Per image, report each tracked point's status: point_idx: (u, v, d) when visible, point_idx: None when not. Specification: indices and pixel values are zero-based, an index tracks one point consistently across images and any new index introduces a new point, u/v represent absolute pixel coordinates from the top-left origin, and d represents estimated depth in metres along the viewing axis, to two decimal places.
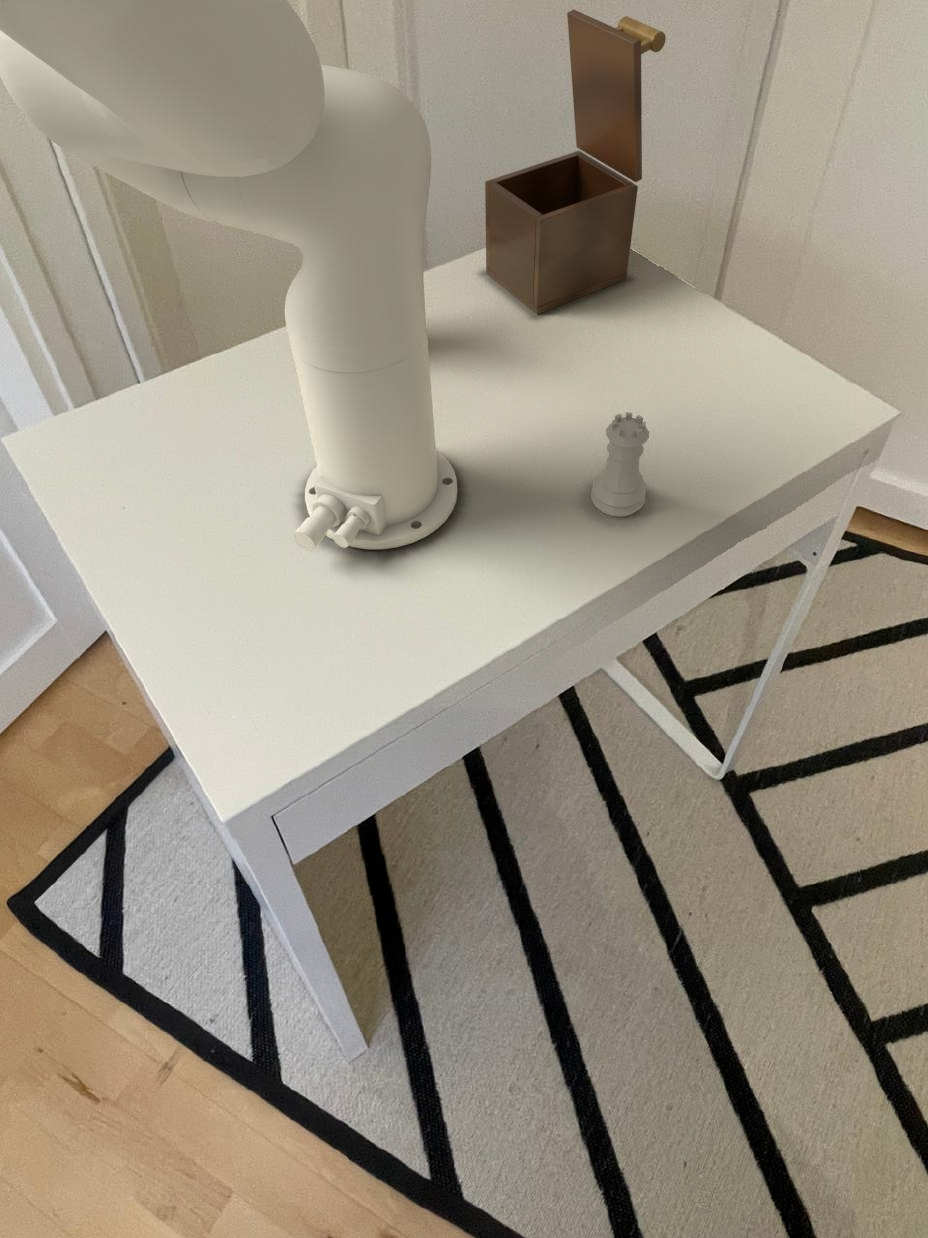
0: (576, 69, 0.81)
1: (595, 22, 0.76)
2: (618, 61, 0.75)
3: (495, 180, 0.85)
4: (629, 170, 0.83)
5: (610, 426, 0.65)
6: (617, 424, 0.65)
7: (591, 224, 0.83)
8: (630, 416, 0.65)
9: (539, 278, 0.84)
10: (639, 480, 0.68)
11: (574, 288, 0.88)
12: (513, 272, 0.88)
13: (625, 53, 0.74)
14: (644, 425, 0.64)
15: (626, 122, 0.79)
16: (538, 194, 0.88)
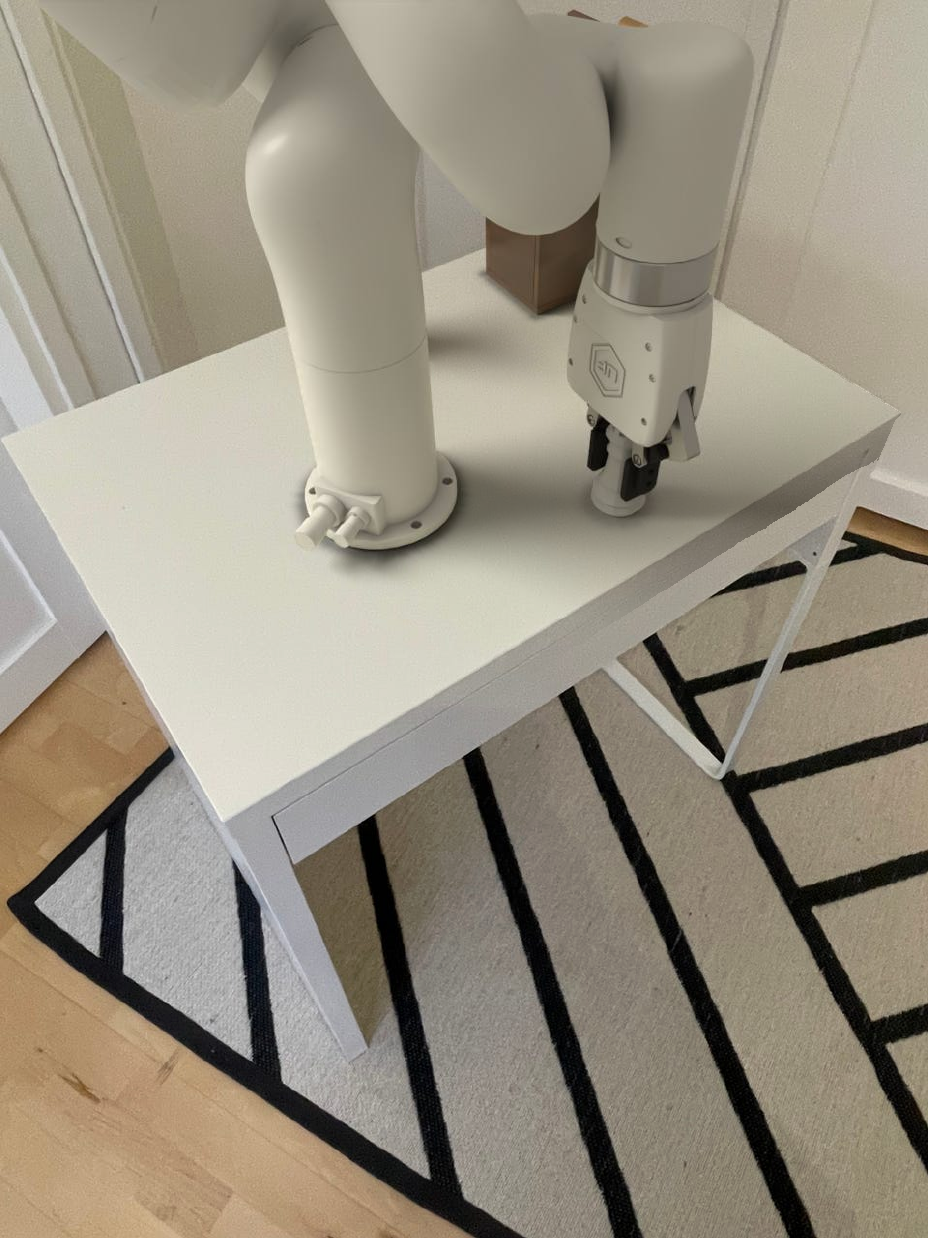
0: None
1: None
2: None
3: None
4: None
5: (610, 426, 0.65)
6: None
7: (591, 224, 0.83)
8: None
9: (539, 278, 0.84)
10: None
11: (574, 288, 0.88)
12: (513, 272, 0.88)
13: None
14: None
15: None
16: None
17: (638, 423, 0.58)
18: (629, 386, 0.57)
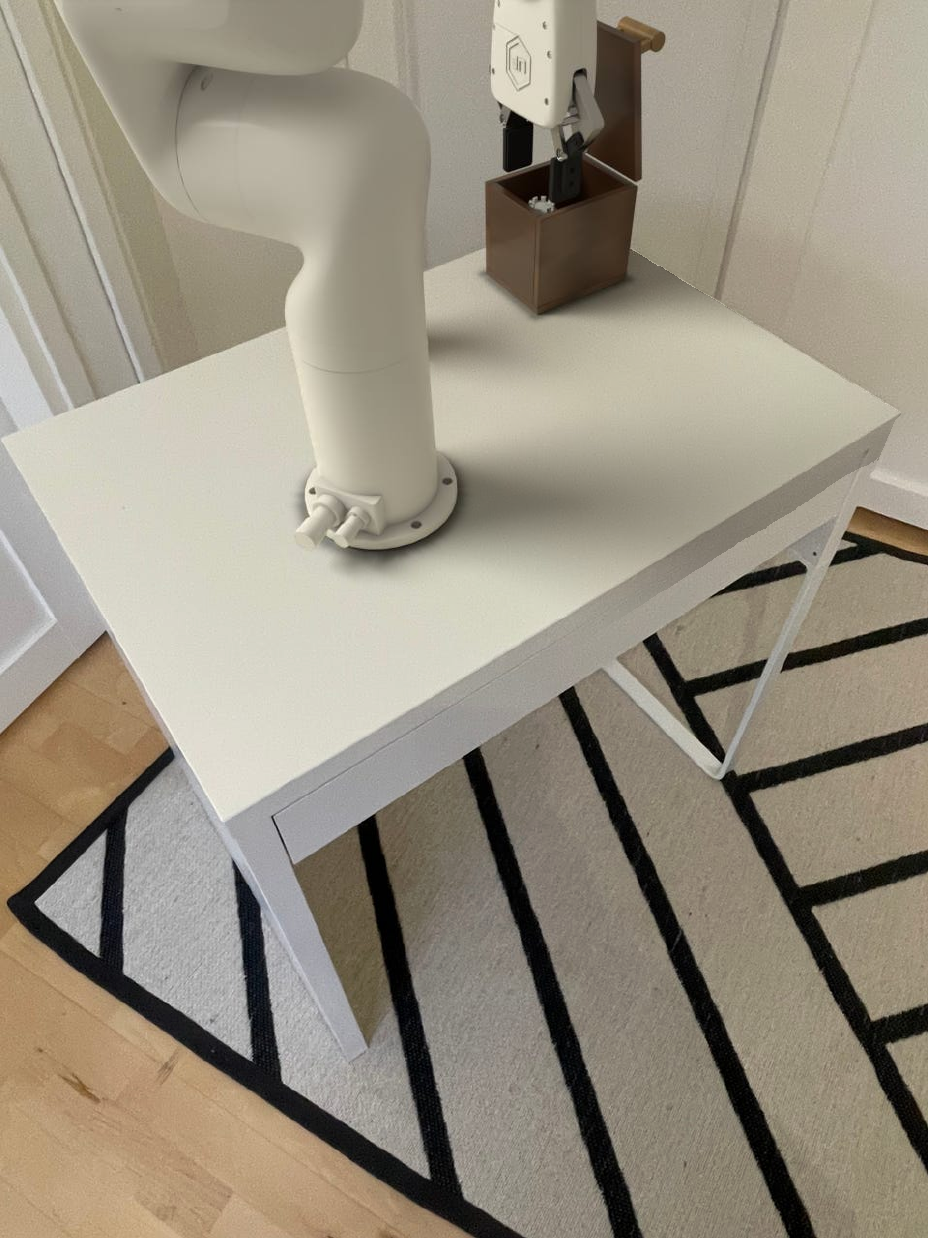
0: None
1: None
2: (618, 61, 0.75)
3: (495, 180, 0.85)
4: (629, 170, 0.83)
5: None
6: (533, 204, 0.84)
7: (591, 224, 0.83)
8: (544, 199, 0.84)
9: (539, 278, 0.84)
10: None
11: (574, 288, 0.88)
12: (513, 272, 0.88)
13: (625, 53, 0.74)
14: (552, 204, 0.83)
15: (626, 122, 0.79)
16: (538, 194, 0.88)
17: (543, 105, 0.73)
18: (534, 71, 0.72)
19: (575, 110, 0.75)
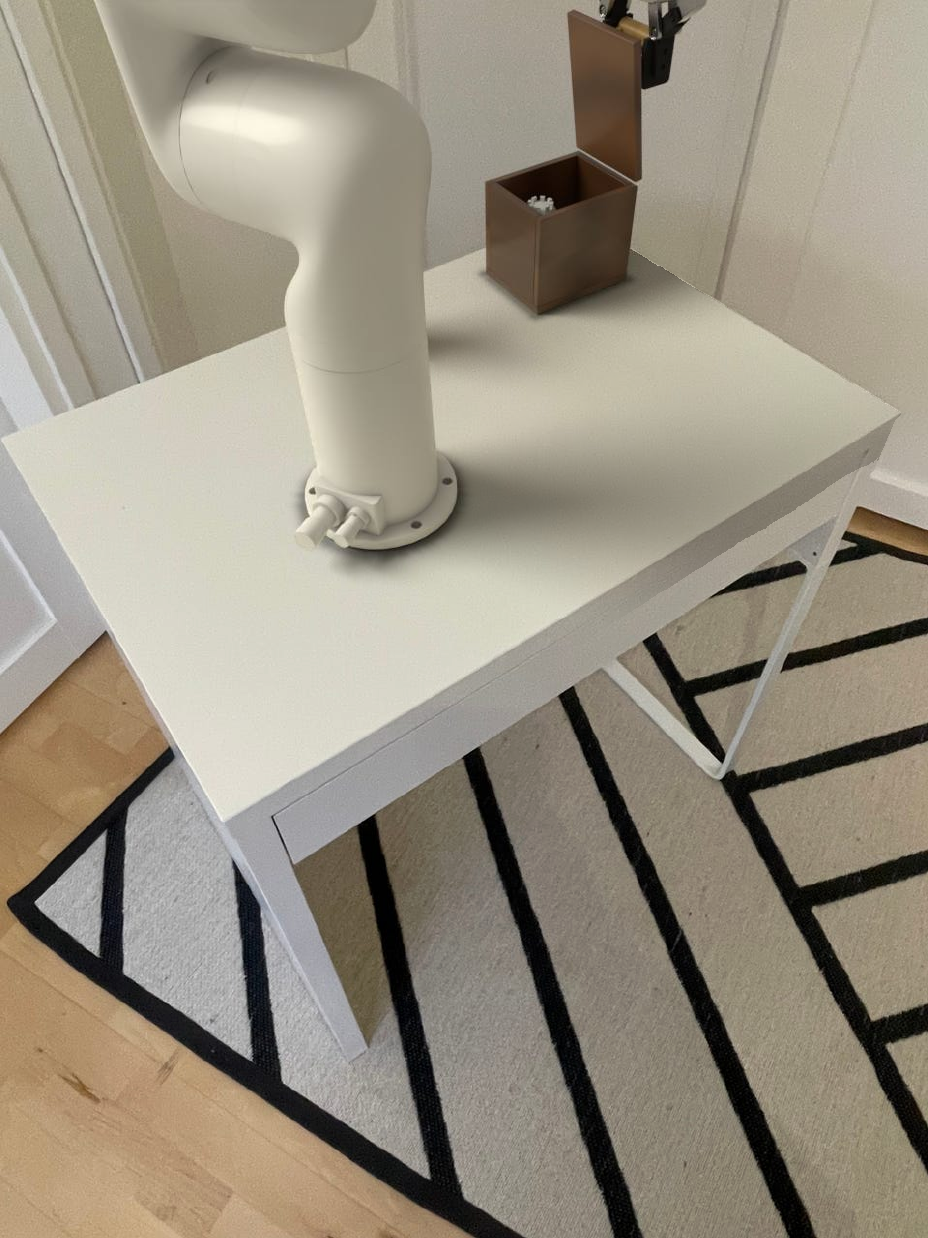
0: (576, 69, 0.81)
1: (595, 22, 0.76)
2: (618, 61, 0.75)
3: (495, 180, 0.85)
4: (629, 170, 0.83)
5: None
6: (532, 203, 0.84)
7: (591, 224, 0.83)
8: (543, 198, 0.85)
9: (539, 278, 0.84)
10: None
11: (574, 288, 0.88)
12: (513, 272, 0.88)
13: (625, 53, 0.74)
14: (551, 203, 0.84)
15: (626, 122, 0.79)
16: (538, 194, 0.88)
17: None
18: None
19: None
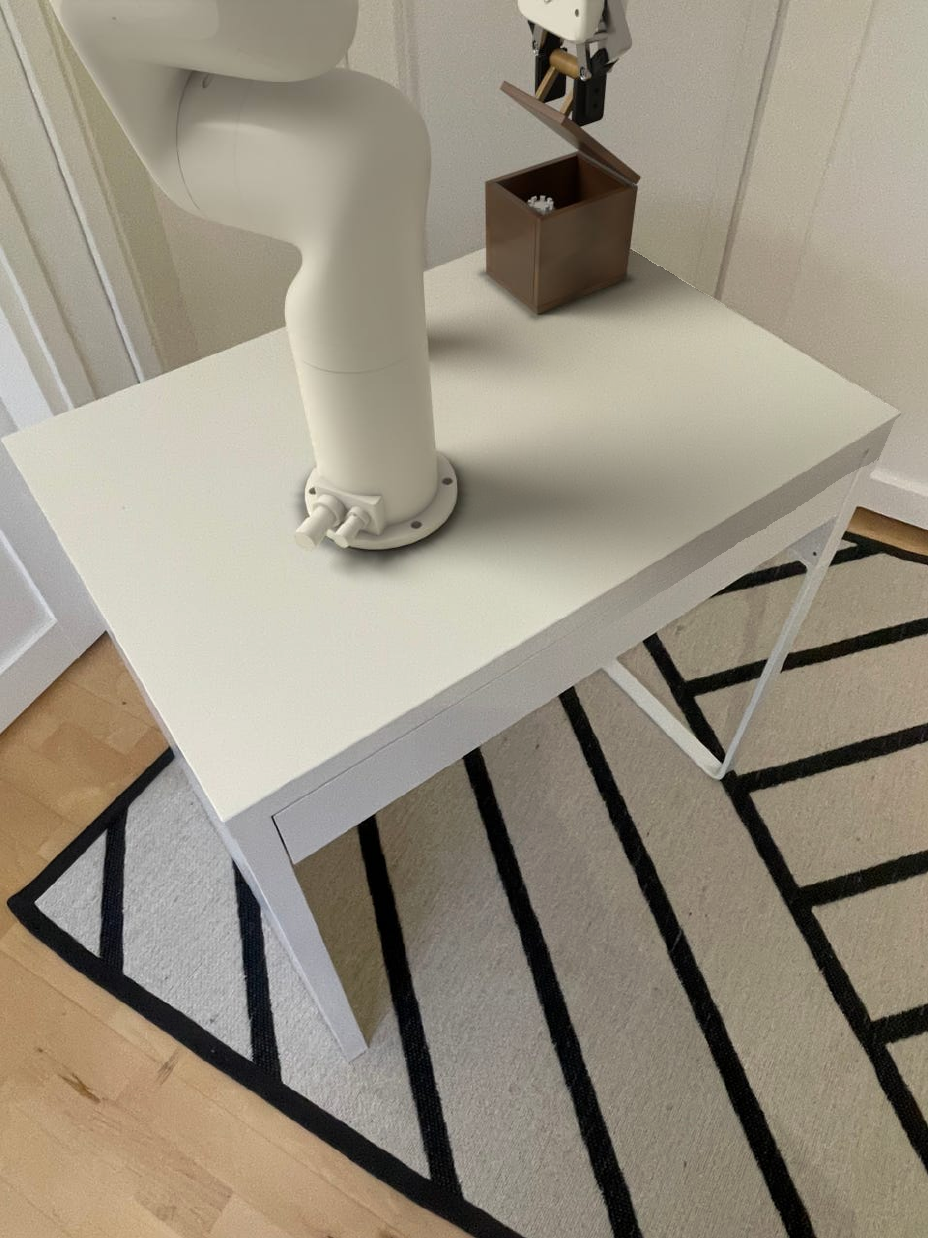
0: (535, 116, 0.82)
1: (525, 98, 0.77)
2: (559, 126, 0.77)
3: (495, 180, 0.85)
4: (625, 177, 0.83)
5: None
6: (532, 203, 0.84)
7: (591, 224, 0.83)
8: (543, 198, 0.85)
9: (539, 278, 0.84)
10: None
11: (574, 288, 0.88)
12: (513, 272, 0.88)
13: (560, 125, 0.75)
14: (551, 203, 0.84)
15: (597, 155, 0.80)
16: (538, 194, 0.88)
17: (573, 17, 0.69)
18: None
19: (603, 25, 0.72)
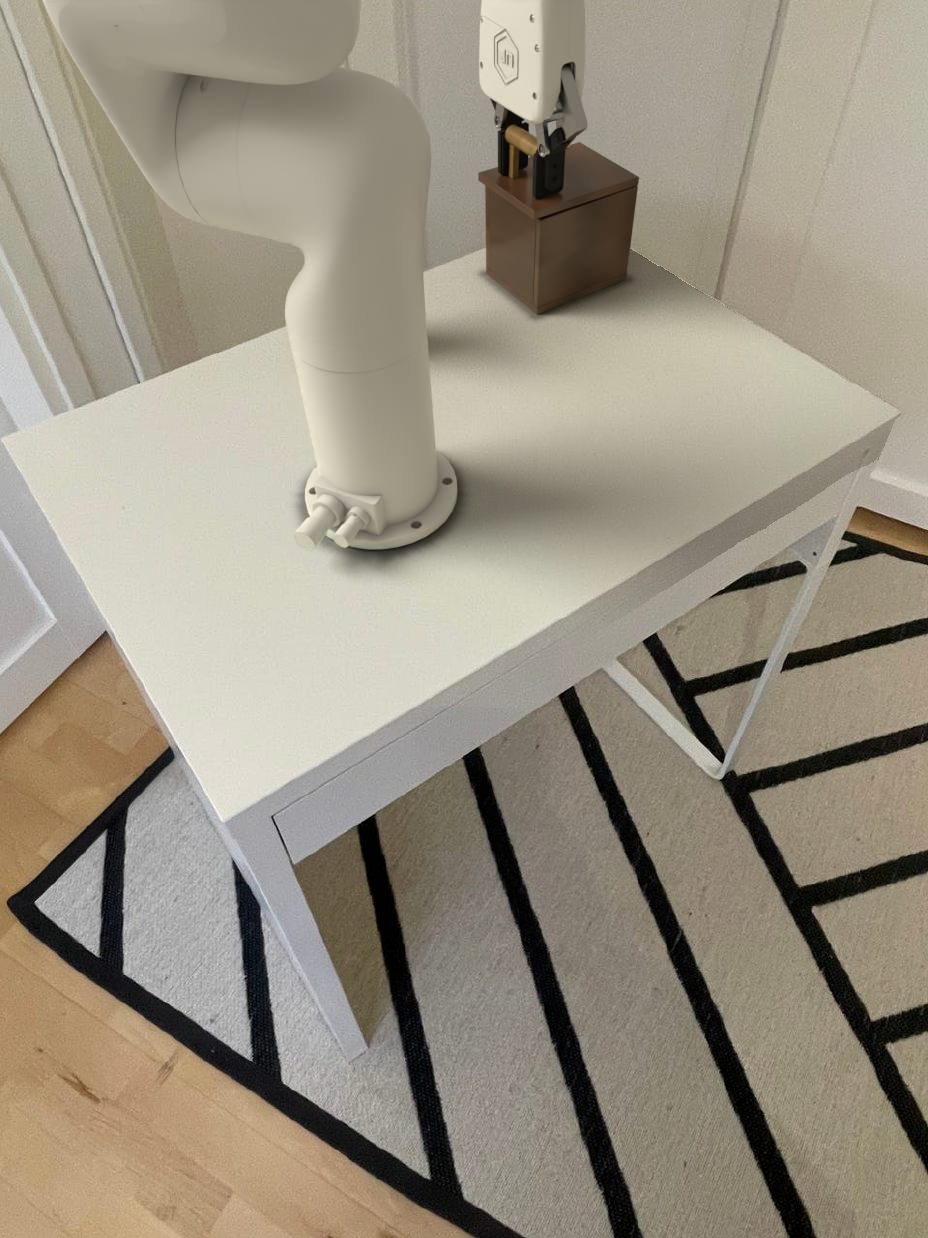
0: None
1: (499, 191, 0.82)
2: None
3: None
4: None
5: None
6: None
7: (591, 224, 0.83)
8: None
9: (539, 278, 0.84)
10: None
11: (574, 288, 0.88)
12: (513, 272, 0.88)
13: None
14: None
15: None
16: None
17: (531, 99, 0.72)
18: (522, 64, 0.71)
19: (561, 105, 0.75)
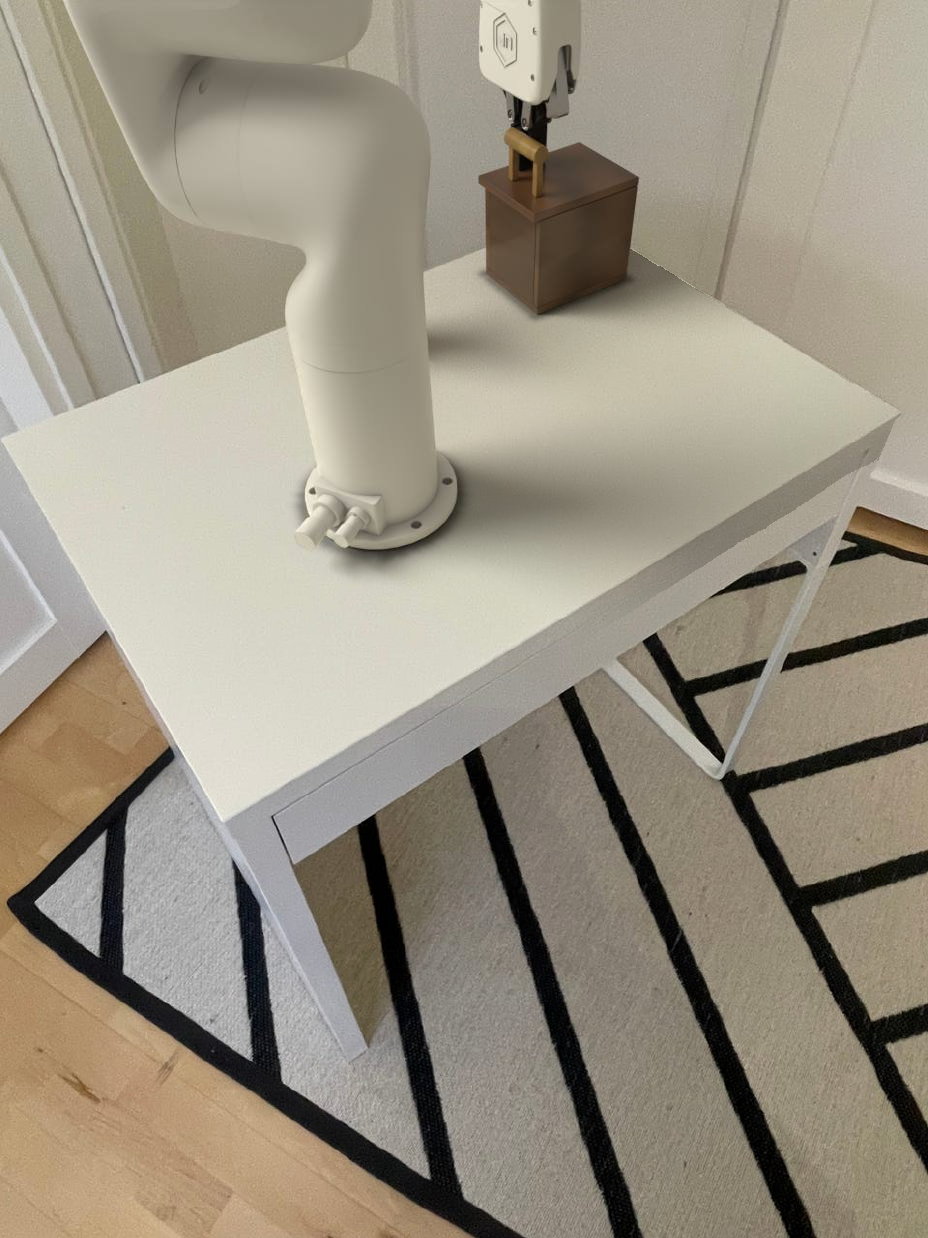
0: None
1: (499, 194, 0.82)
2: None
3: None
4: None
5: None
6: None
7: (591, 224, 0.83)
8: None
9: (539, 278, 0.84)
10: None
11: (574, 288, 0.88)
12: (513, 272, 0.88)
13: None
14: None
15: None
16: None
17: (529, 81, 0.75)
18: (520, 47, 0.74)
19: None
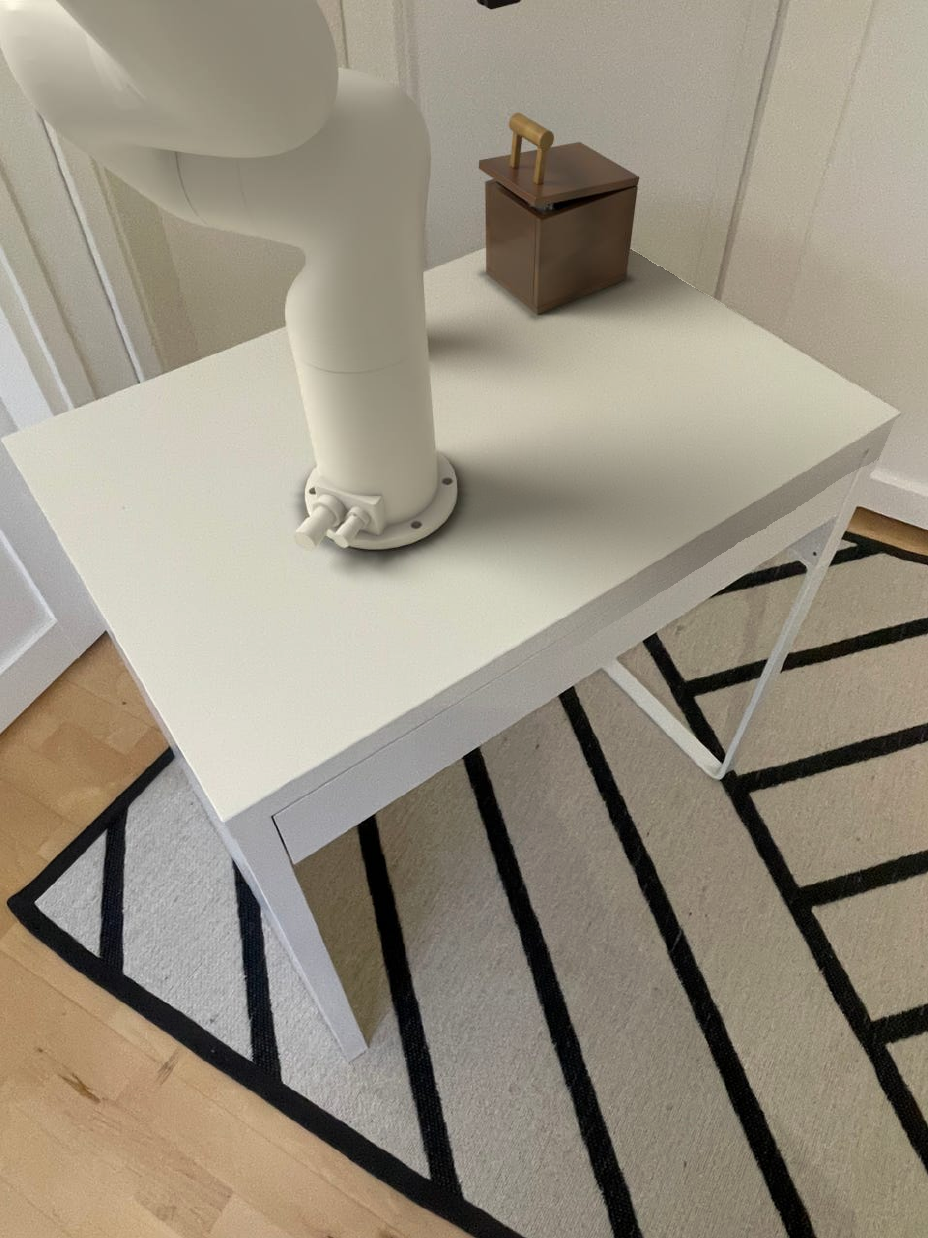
0: None
1: (500, 179, 0.81)
2: None
3: (495, 180, 0.85)
4: None
5: None
6: None
7: (591, 224, 0.83)
8: None
9: (539, 278, 0.84)
10: None
11: (574, 288, 0.88)
12: (513, 272, 0.88)
13: None
14: None
15: None
16: None
17: None
18: None
19: None
